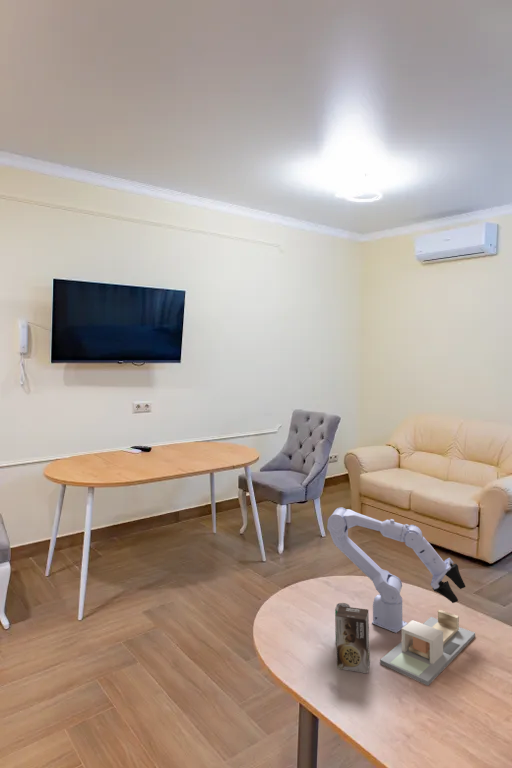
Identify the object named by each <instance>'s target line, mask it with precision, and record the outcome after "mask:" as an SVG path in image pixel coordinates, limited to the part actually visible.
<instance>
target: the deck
mask: <svg viewBox="0 0 512 768" xmlns="http://www.w3.org/2000/svg"><path fill="white" fill-rule="evenodd" d="M437 622H438V618H435V617H432V616H430V617H428V619H427V620H425V621H424V622H423V623H422V624H425V625H427V626H430V627H433V626H434V625H435V624H436V623H437ZM475 637H476V632H475V631H471V630H469V629H467V628H463V627H460V626H459V630H458V631H457V632H456V633H455V634H454V635H453V636H452V637H451V638H450V639H449V640H448V641H447V642H446V643H445V644H444V645H443V655H442V656H441V657H440V658H439V659H438V660H437V661H436V662H435V663H434V664H431V663H430V658H429V659H428V658H425V657H423V656H421V655H418V654H416V653H413V652H411V651H409V649H408V650H407V651H406V652H403V651H402V641H401V642H399V643H398V644H396V646H395V647H393V648H392V649H391V650H390V651H389V652H387V653H386V654H385V655H384V656H383V657H382V658H380V660H379V664H380V665H382V666H384V667H387V668H389V669H390V670H391V669H392V670H393V671H395V672H397V673H399V674H401V675H404V676H406V677H408V678H410V679H411V680H412V679H413V680H415V681H416V682H419V683H422V684H424V685H425V686H429V685H430V684H431V683H432V682H433V681H434V680H435V679H436V678H437V677H438V676H439V675H440V674H441V673H442V672H443V671H444V670H445V669H446V668H447V667H448V665H450V663H451V662H453V660H454V659H456V657H457V656H458V655H459V654H460V653H461V652H462V650H464V649H465V648H466V647H467V645H469V644H470V643H471V641H472V640H473V639H474V638H475Z"/></svg>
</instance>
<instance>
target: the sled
mask: <svg viewBox="0 0 512 768" xmlns="http://www.w3.org/2000/svg"><path fill="white" fill-rule="evenodd" d="M437 619H438V622H437V623H436V624H435V625H434V626H433V628H435V629H438V630H441V631H443V645H444V644H445V643H446V642H447V641H448V640H449V639H450V638H451V637H452V636H453V635H454V634H455V633H456V632H457V631H458V630H459V627H460V616H459V615H457V614H454V613H451V612H448V611H445V610H442V609H439V610H438V611H437ZM409 651H411V652H413V653H416V654H418V655H421V656H423V657H425V658H428V659H429V658H430V650H429V651H428V652H427V653H424V652H421V651H419V650H416V649H414V648H413V644H412V645H411V646H410V647H409Z"/></svg>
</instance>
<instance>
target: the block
mask: <svg viewBox="0 0 512 768" xmlns="http://www.w3.org/2000/svg"><path fill="white" fill-rule="evenodd" d="M413 648H414V649H416V650H419V651H421V652H424V653H427V652H428V651H429V650H430V643H428V642H426V641H423V640H421V639H418V638H416V637H413Z"/></svg>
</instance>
